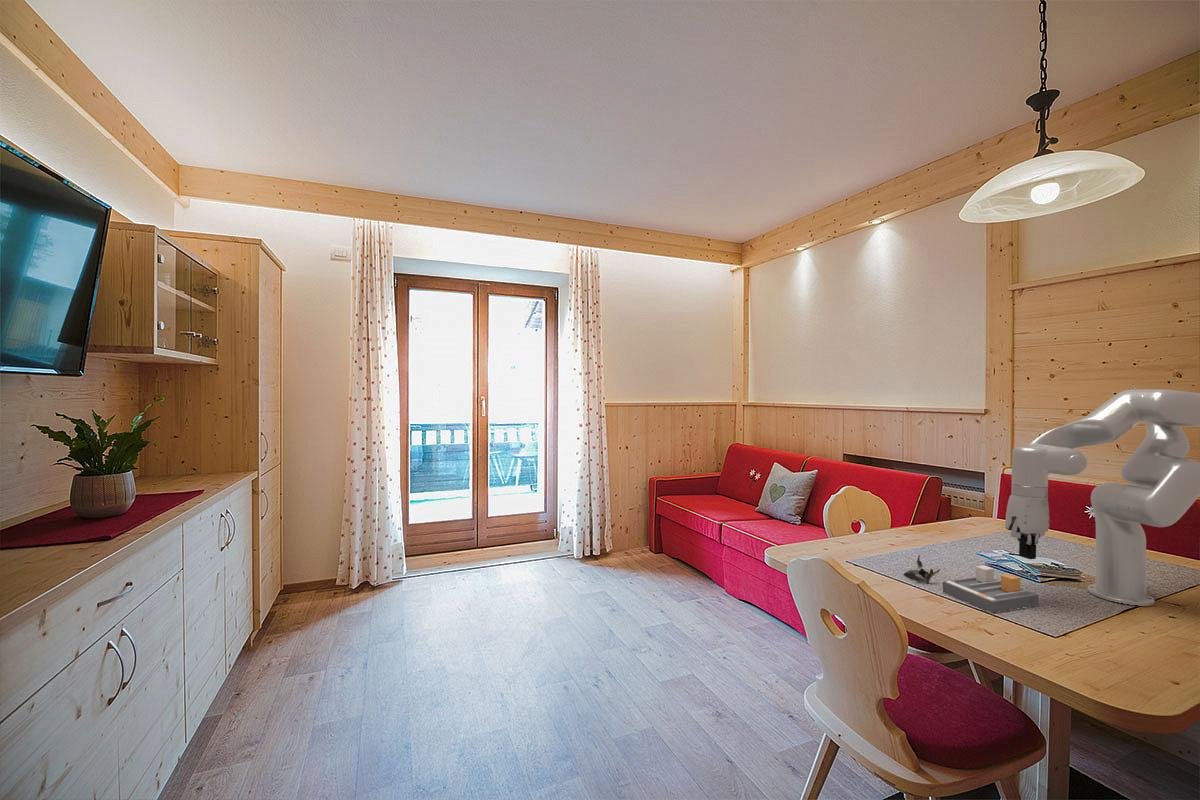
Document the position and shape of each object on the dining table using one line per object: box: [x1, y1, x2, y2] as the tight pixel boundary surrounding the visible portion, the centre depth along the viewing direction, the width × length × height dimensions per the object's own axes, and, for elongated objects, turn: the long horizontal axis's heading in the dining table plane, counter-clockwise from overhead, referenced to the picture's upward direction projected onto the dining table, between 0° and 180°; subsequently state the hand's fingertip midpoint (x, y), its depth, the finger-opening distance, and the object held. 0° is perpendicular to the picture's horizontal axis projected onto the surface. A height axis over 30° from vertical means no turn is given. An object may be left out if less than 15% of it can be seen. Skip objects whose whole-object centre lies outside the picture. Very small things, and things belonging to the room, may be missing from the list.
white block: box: [975, 564, 995, 583], centre depth 140 cm, size 3×3×4 cm
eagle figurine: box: [903, 554, 941, 585], centre depth 151 cm, size 8×7×9 cm
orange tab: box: [1000, 573, 1021, 592], centre depth 133 cm, size 3×3×4 cm
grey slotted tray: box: [942, 576, 1040, 613], centre depth 136 cm, size 16×14×4 cm
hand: (1027, 557), depth 134 cm, fingers closed
